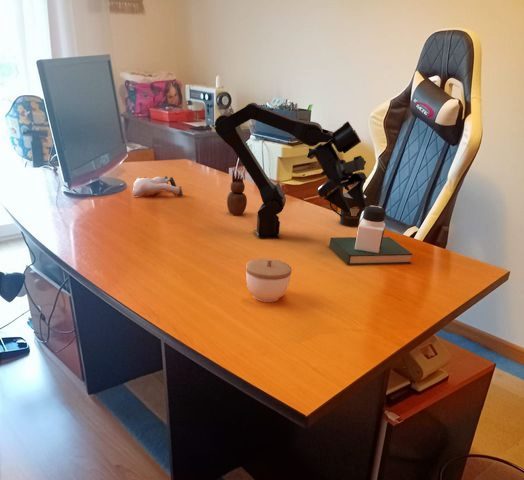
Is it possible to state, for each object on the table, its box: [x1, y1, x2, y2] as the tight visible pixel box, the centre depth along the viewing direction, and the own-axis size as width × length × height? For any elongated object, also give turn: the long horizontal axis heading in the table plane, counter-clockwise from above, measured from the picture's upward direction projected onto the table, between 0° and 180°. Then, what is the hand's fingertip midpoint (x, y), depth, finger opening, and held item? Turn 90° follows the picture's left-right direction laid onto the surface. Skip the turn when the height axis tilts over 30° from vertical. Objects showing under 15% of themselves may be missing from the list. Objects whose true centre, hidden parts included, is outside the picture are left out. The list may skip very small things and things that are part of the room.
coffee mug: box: [329, 191, 367, 228], centre depth 181 cm, size 12×9×10 cm
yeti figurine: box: [132, 175, 183, 197], centre depth 197 cm, size 20×7×20 cm
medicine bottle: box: [355, 205, 387, 253], centre depth 149 cm, size 7×7×12 cm
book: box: [328, 236, 413, 266], centre depth 156 cm, size 20×15×3 cm
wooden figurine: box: [226, 169, 248, 216], centre depth 179 cm, size 7×6×15 cm
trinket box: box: [245, 258, 293, 303], centre depth 123 cm, size 11×11×9 cm
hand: (356, 209), depth 151 cm, fingers open, 9 cm apart
